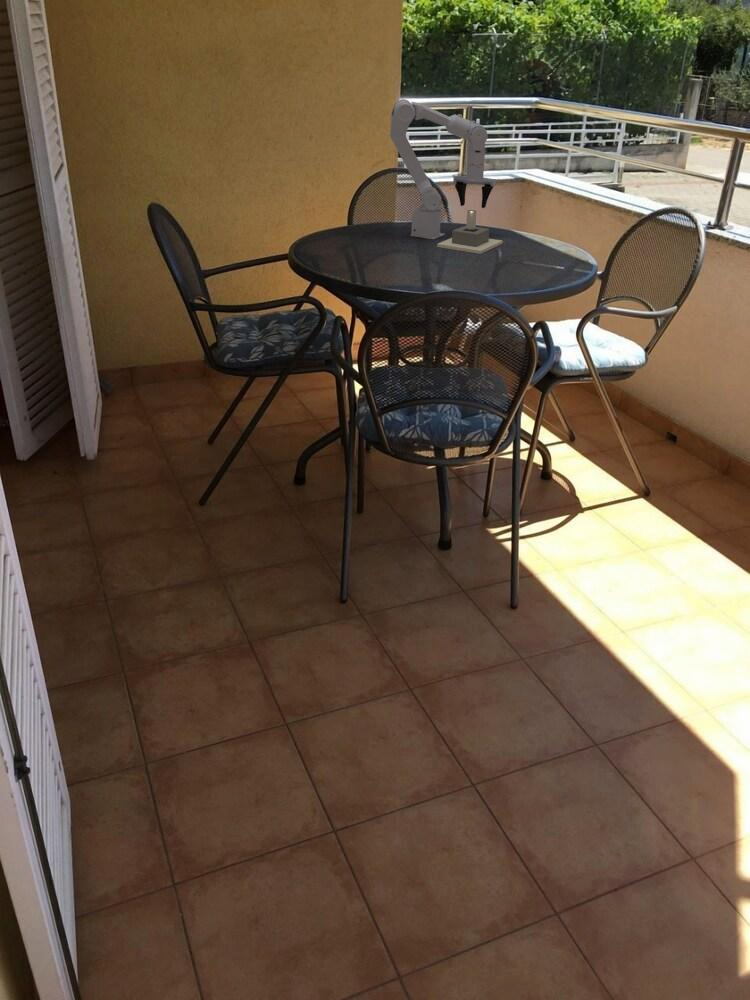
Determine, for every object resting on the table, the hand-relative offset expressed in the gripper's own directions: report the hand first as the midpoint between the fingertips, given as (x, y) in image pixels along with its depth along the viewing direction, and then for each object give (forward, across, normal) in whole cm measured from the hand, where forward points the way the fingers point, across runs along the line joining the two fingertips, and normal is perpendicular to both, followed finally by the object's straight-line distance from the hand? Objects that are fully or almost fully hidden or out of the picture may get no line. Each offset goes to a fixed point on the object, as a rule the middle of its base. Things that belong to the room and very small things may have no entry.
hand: (472, 206), depth 282 cm
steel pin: (+8, +5, -14) cm, 17 cm away
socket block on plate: (+10, +5, -13) cm, 17 cm away
